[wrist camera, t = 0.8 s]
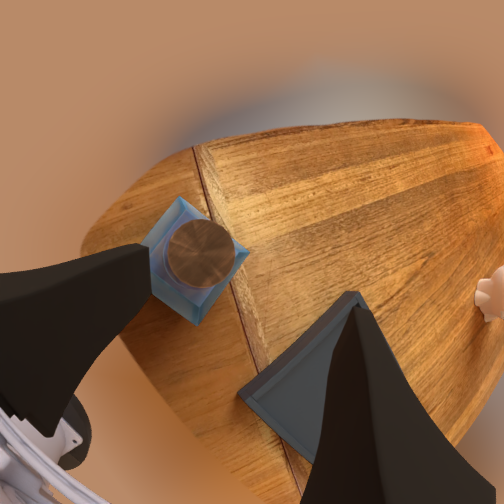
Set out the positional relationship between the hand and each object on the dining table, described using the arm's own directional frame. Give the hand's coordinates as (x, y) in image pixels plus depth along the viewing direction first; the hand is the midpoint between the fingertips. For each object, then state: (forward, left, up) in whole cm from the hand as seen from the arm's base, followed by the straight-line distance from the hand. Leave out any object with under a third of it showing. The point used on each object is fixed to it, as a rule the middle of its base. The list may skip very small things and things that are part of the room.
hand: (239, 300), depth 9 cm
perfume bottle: (+1, +2, -16) cm, 16 cm away
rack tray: (+5, -29, -16) cm, 33 cm away
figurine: (+43, -38, -16) cm, 59 cm away
